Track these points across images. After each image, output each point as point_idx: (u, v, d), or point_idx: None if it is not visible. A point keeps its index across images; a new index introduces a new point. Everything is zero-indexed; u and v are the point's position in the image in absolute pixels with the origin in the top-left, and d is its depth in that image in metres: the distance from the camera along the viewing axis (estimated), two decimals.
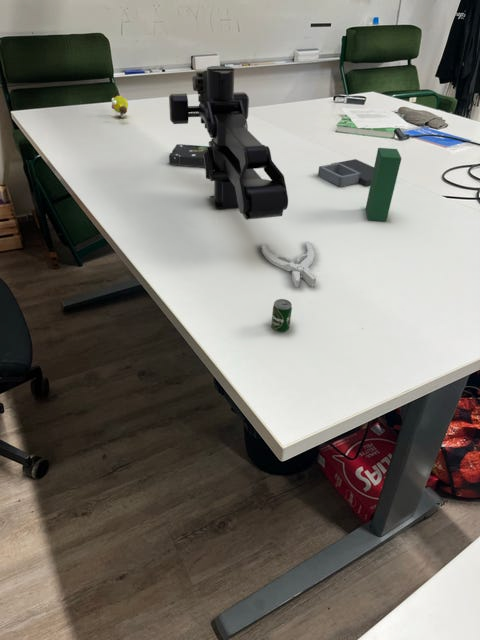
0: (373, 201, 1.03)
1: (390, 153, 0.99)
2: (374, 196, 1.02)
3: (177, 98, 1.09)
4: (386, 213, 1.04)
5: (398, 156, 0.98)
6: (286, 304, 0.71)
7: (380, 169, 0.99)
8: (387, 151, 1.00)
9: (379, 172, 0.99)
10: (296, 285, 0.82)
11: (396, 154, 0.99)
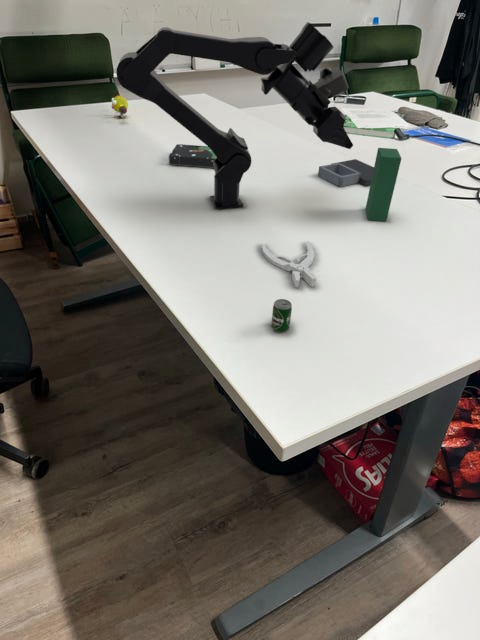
0: (373, 201, 1.03)
1: (390, 153, 0.99)
2: (374, 196, 1.02)
3: None
4: (386, 213, 1.04)
5: (398, 156, 0.98)
6: (286, 304, 0.71)
7: (380, 169, 0.99)
8: (387, 151, 1.00)
9: (379, 172, 0.99)
10: (296, 285, 0.82)
11: (396, 154, 0.99)
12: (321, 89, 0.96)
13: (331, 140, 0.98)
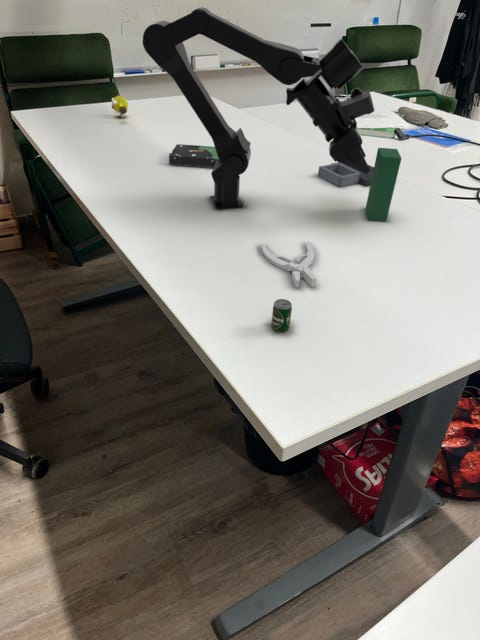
0: (373, 201, 1.03)
1: (390, 153, 0.99)
2: (374, 196, 1.02)
3: None
4: (386, 213, 1.04)
5: (398, 156, 0.98)
6: (286, 304, 0.71)
7: (380, 169, 0.99)
8: (387, 151, 1.00)
9: (379, 172, 0.99)
10: (296, 285, 0.82)
11: (396, 154, 0.99)
12: (345, 108, 0.93)
13: (346, 161, 0.95)
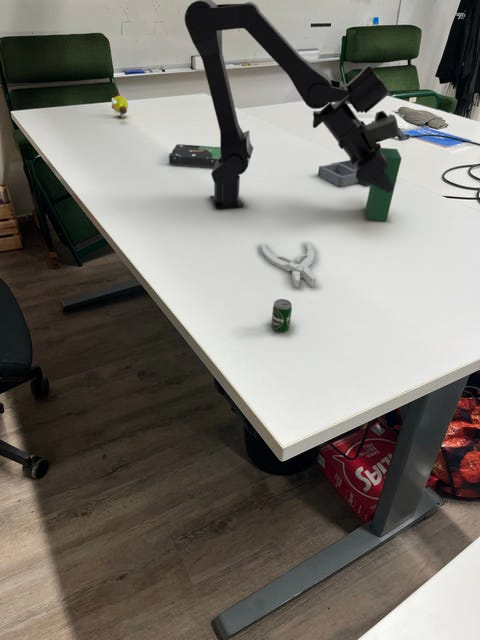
0: (373, 201, 1.03)
1: (390, 153, 0.99)
2: (374, 196, 1.02)
3: None
4: (386, 213, 1.04)
5: (398, 156, 0.98)
6: (286, 304, 0.71)
7: None
8: (387, 151, 1.00)
9: None
10: (296, 285, 0.82)
11: (396, 154, 0.99)
12: (370, 132, 0.95)
13: (370, 180, 0.99)
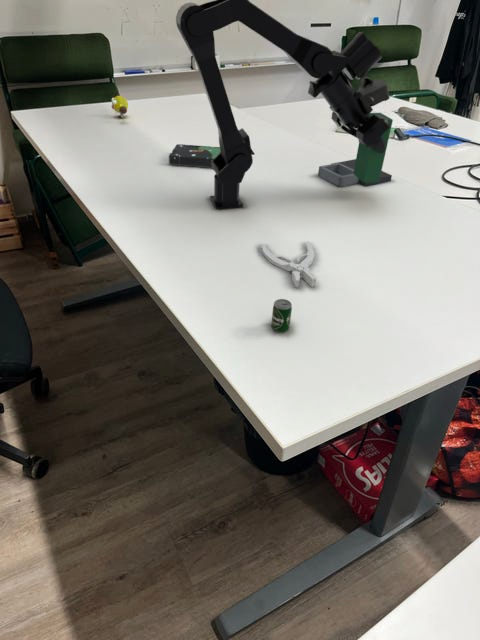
0: (368, 164, 1.09)
1: None
2: (369, 159, 1.08)
3: None
4: (379, 174, 1.11)
5: (389, 118, 1.05)
6: (286, 304, 0.71)
7: None
8: None
9: None
10: (296, 285, 0.82)
11: (385, 116, 1.06)
12: (365, 97, 1.01)
13: None
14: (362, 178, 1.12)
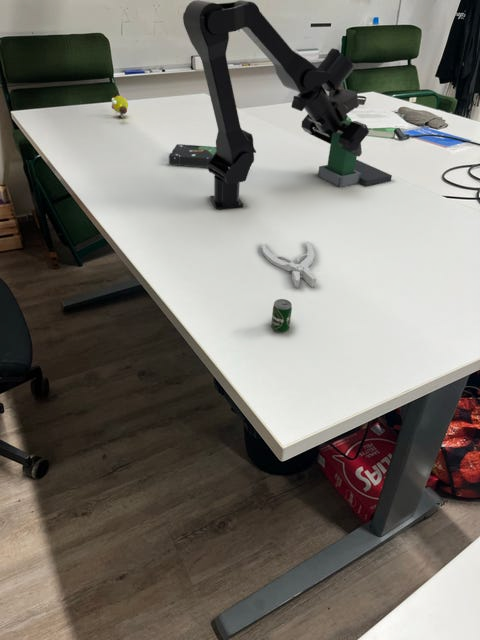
0: (344, 167, 1.20)
1: (349, 123, 1.16)
2: (345, 162, 1.19)
3: None
4: None
5: None
6: (286, 304, 0.71)
7: None
8: (345, 122, 1.17)
9: None
10: (296, 285, 0.82)
11: None
12: (341, 106, 1.10)
13: None
14: None
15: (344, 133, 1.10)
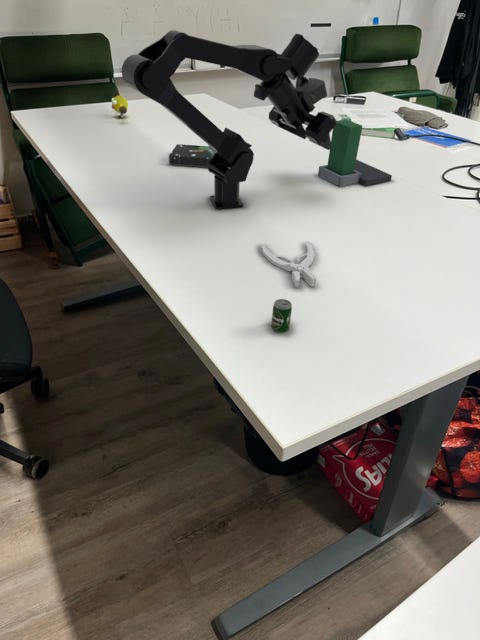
0: (344, 167, 1.20)
1: (349, 123, 1.16)
2: (345, 162, 1.19)
3: None
4: None
5: (358, 124, 1.16)
6: (286, 304, 0.71)
7: (349, 138, 1.16)
8: (345, 122, 1.17)
9: (348, 141, 1.16)
10: (296, 285, 0.82)
11: (354, 123, 1.17)
12: (307, 96, 1.04)
13: None
14: None
15: (310, 124, 1.03)
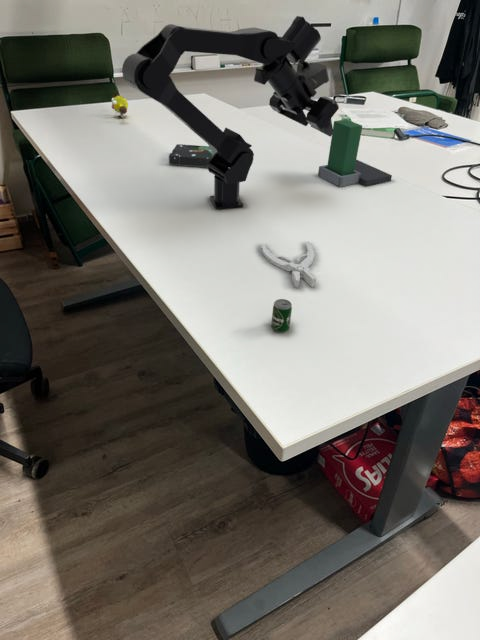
0: (344, 167, 1.20)
1: (349, 123, 1.16)
2: (345, 162, 1.19)
3: None
4: None
5: (358, 124, 1.16)
6: (286, 304, 0.71)
7: (349, 138, 1.16)
8: (345, 122, 1.17)
9: (348, 141, 1.16)
10: (296, 285, 0.82)
11: (354, 123, 1.17)
12: (309, 80, 1.02)
13: (320, 128, 1.05)
14: None
15: (312, 109, 1.01)
